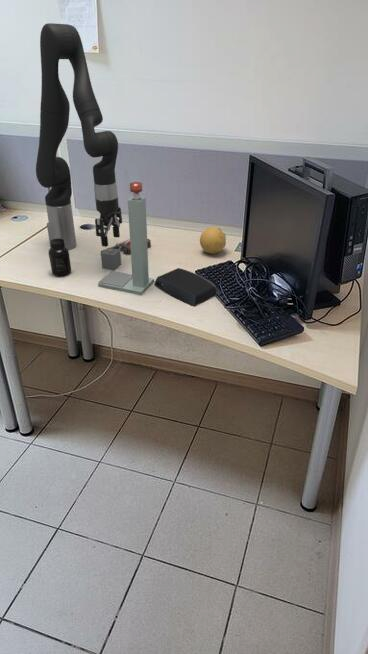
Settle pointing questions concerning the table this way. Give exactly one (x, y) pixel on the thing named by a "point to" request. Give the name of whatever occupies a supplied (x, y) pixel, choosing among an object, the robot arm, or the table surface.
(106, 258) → the block
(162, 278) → the external hard drive
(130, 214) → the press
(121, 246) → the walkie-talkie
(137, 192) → the plunger
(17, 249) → the table surface
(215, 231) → the stress ball
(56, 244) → the supplement bottle
